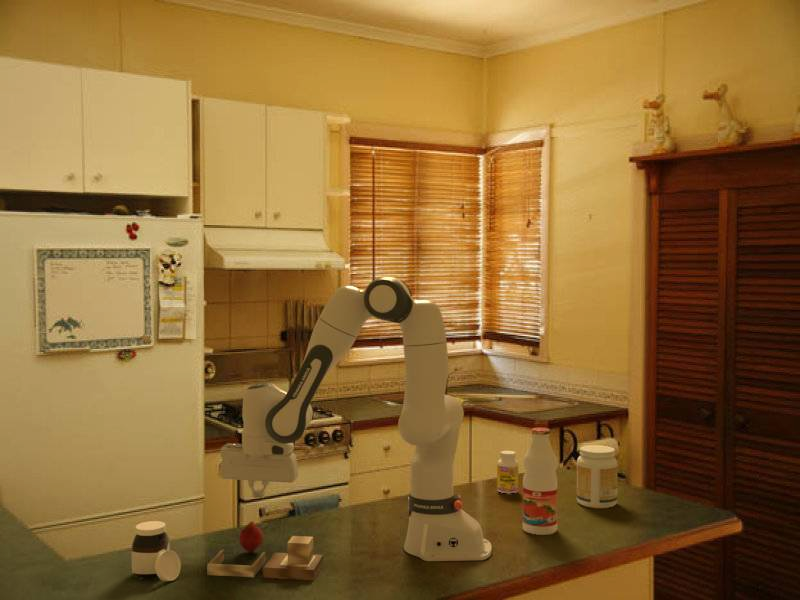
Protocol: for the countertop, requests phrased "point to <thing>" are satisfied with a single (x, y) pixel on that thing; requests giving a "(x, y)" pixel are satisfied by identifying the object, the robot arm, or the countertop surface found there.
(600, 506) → the supplement tub
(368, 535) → the countertop surface
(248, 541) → the onion
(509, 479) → the supplement bottle
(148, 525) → the spread jar
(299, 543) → the oak block
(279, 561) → the wooden tray
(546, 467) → the fruit juice
